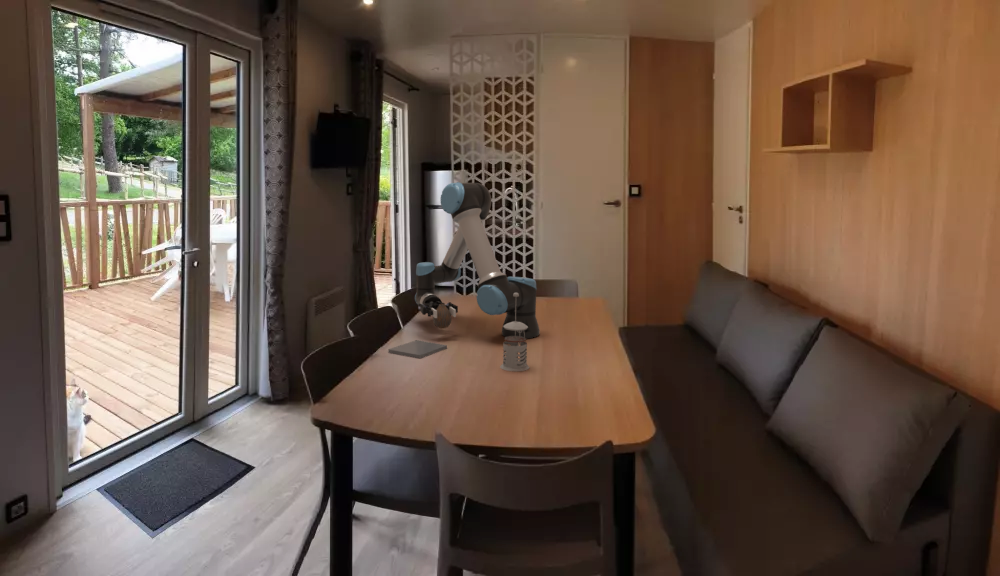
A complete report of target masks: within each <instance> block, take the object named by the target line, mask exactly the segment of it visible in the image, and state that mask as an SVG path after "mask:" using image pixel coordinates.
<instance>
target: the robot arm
mask: <svg viewBox="0 0 1000 576" xmlns="http://www.w3.org/2000/svg"><path fill="white" fill-rule="evenodd" d="M439 202H440V206H441V209H442V210H443V212H445V213H447V214H450V215H451V218H452V220H453V222H454V223H457V224H458V228H457V231H456V233H455V234H454V236H453V238H452V241H451V243H450V245H449V247H448V249H447V251H446V253H445V256H444V258H443V260H442V262H441V264H440V265H435V264H434V263H433V262H429V261H425V262H419V263H417V264H416V269H415V274H416V275H415V276H416V293H415V295H414V301H415V303H416V305H417V306H418V311H419V312H421V314H422V315H424V316H425V315H426V314H427V317H432V318H433V317H434V318H437V311H436V309H437V308H438V306H439V304H445V305H446V307H447V309H448V310H449V311H450V313H451V317H454V318H456V317H457V313H459V311H458V310H459V306H458V305H456V304H454V303H452V302H449V301H448V302H446V303H445V302H442V299H441V298H440V297H439V296H437V295H436V294H435V288H436V287H435V285H436V284H442V283H452V282H455V281H458V280H459V279H460V277H461V273H462V270H461V264H462V262H463V260H464V258H465V257H466V254H467V252H468V253H469V256H470V258H471V260H472V262H473V265H474V268H475V271H476V274H477V275H478V278H479V282H478V283H477V287H478V290H477V291H476V303H477V305H478V307H479V308H480V310H481V311H482V312H483V313H485V314H487V315H488V316H489V315H490V316H499V315H502V314H505V315H506V316H505V318H504V322H503V325H502V327H501V335H502V336H503V337H507V336H508V337H509V336H515V331H512V330H507V329H505V328H504V327H503V326H504V325H505V324H507V323H510V322H514V321H515V307H516V321H517V322H521V323H524V324H525V325H527V326H528V328H527V329H526V330H524V331H523V330H522V332H521V331H520V332H521V333H520V334H519V331H518V332H517V331H516V336H522V337H524V333H525V338H526V339H533V337H534V338H537V337H539V336H540V334H541V333H540V332H541V331H540V326H539V323H538V319H537V317H536V313H537V312H536V309H537V290H538V288H537V282H536V279H534V278H531V277H530V278H529V277H521V276H507V274H506V273H503V272H502V271H501V269H500V266H499V264H498V262H497V261H498V260H497V258H496V257H495V253H494V250H493V248H492V245H491V243H490V240H489V238H488V235H487V232H486V230H485V227H484V225H483V222H482V221H485V220H486V219H487V217H488V215H489V212H490V209H491V206H492V196H491V193H490V191H489V188H487V187H486V186H485V185H484V184H482V183H480V182H460V181H459V182H451V183H448V184H446V186H445V187H444V188H443V189H442V191H441V195H440V201H439ZM514 293H518V294H519V296H518V297H515V296H513V294H514ZM538 335H539V336H538ZM536 336H537V337H536Z"/></svg>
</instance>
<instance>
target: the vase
mask: <svg viewBox="0 0 1000 576" xmlns="http://www.w3.org/2000/svg"><path fill="white" fill-rule="evenodd" d="M445 304H446V303H445ZM445 304H439V306H438V308H437V309H436V311H437V318H434V317H433V316H432V319H433V321H432V322H433V324H434V325H435V327H436V328H438V329H446V328H448V327H450V325H451V323H452V315H451V313H450V311H449V310H448V309H447V307H446V305H445Z"/></svg>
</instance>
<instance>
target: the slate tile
mask: <svg viewBox="0 0 1000 576" xmlns="http://www.w3.org/2000/svg"><path fill="white" fill-rule="evenodd" d="M447 349H448V345H447V344H441V343H435V342H430V341H423V340H418V339H416V340H413V341H409V342H406V343H403V344H400V345H398V346H394V347H391V348H389V349H388V353H389V354H395V355H399V356H404V355H406V356H405V357H409V356H410V357H409V358H414V357H415V358H416V359H422V358H426V357H428V356H430V355H433V353H434V354H437V353H439V352H441V351H444V350H447ZM425 356H426V357H425Z"/></svg>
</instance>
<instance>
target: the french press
mask: <svg viewBox="0 0 1000 576" xmlns="http://www.w3.org/2000/svg"><path fill="white" fill-rule="evenodd" d="M513 296H515V297H518V296H519V294H518V293H514V294H513ZM502 327H504V328H505V329H507V330H512V331H515V336H509V337H508V336H507V337H506V336H504V341H503V343H502V345H503V347H502V348H503V349H502V351H503V353H502V354H503V356H502V360H503V361H502V364H501V365H500V366H499V368H500V369H501V370H504V371H508V372H524V371H528V370H529V369H530V365H528V363H527V362H528V359H527V358H528V356H527V355H528V348H527V347H528V343H527V341H526V340H527V338H525V333H524V337H522V336H516V331H517V332H518V331H519V334H520V333H521V332H522V330H523V331H524V330H526V329H527V328H528V326H527V325H525V324H524V323H521V322H517V321H516V307H515V321H514V322H510V323H507V324H505V325H504V326H503V325H502ZM520 331H521V332H520Z"/></svg>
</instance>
